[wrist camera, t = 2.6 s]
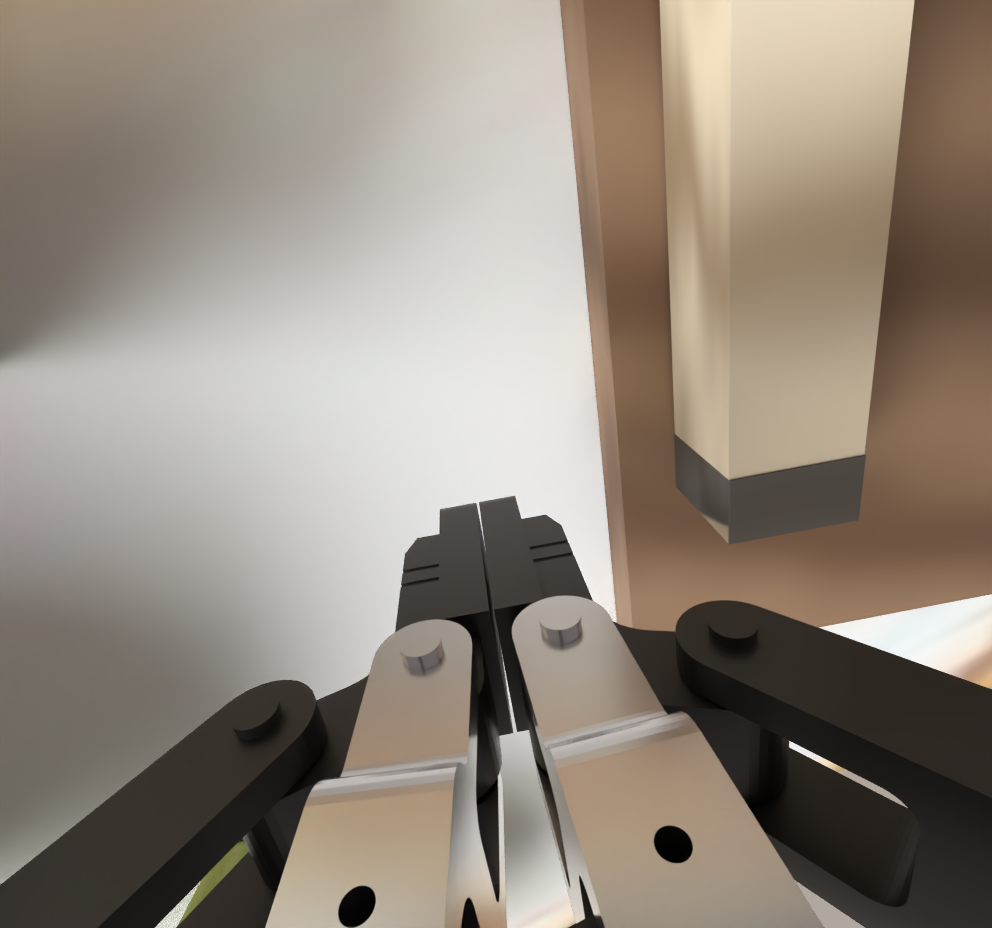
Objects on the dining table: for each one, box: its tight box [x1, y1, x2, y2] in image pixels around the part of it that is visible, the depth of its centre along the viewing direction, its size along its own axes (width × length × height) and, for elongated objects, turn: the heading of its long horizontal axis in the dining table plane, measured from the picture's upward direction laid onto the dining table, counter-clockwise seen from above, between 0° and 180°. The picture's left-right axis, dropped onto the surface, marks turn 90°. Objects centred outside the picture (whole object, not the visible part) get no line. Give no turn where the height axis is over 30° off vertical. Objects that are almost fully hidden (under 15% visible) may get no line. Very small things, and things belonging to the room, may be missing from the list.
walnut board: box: [560, 0, 992, 631], centre depth 14 cm, size 22×16×4 cm
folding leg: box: [660, 0, 914, 545], centre depth 11 cm, size 14×3×4 cm, turn 9°
